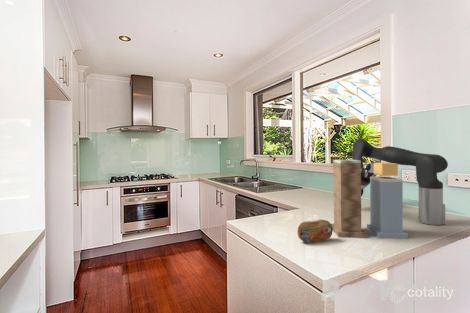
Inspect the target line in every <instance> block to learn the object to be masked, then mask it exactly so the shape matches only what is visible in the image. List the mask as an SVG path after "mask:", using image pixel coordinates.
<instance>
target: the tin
mask: <svg viewBox="0 0 470 313" xmlns="http://www.w3.org/2000/svg"><path fill="white" fill-rule="evenodd" d="M331 224H332V223H330V221H328V220H325V219H314V220H307V221H306V220H305V221H302V222H301V223H300V224H299V225H298V227H297V237H298V239H300V241H302V242H303V243H305V244H314V243H321V242H326V241H328V240H330V238H331V237H332V235H333V232H334V231H333V228H332V225H331Z"/></svg>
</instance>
